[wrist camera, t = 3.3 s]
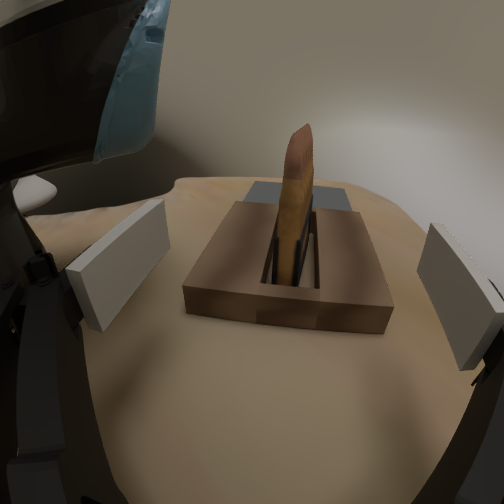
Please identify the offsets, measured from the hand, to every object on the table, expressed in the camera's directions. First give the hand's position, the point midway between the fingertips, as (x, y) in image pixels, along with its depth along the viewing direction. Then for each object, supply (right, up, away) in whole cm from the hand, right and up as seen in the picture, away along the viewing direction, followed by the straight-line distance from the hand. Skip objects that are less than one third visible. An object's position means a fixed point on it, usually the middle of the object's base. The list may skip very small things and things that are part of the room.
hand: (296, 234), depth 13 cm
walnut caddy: (+2, -2, +13) cm, 13 cm away
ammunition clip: (+2, -2, +13) cm, 13 cm away
